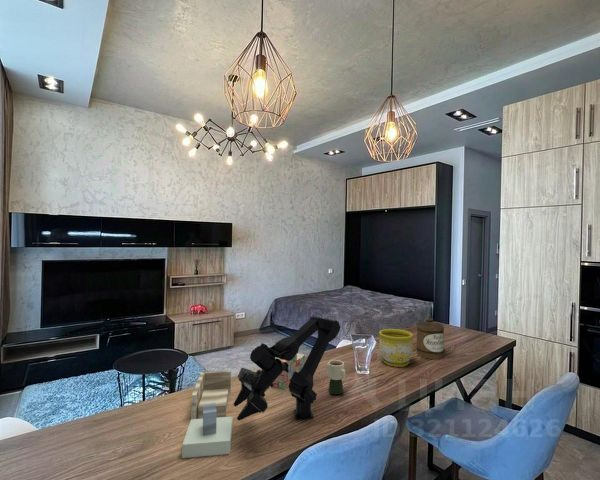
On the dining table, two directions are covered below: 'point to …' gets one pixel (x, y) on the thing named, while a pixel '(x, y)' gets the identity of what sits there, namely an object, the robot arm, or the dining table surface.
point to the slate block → (209, 419)
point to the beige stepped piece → (211, 392)
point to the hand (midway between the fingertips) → (236, 412)
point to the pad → (208, 439)
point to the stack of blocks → (294, 365)
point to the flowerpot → (395, 347)
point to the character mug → (336, 376)
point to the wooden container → (430, 339)
